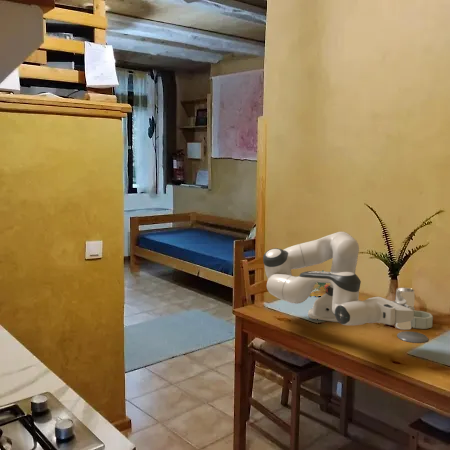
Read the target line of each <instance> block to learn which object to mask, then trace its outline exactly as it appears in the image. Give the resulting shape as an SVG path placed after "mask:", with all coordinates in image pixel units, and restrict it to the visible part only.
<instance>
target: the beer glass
mask: <svg viewBox="0 0 450 450" xmlns="http://www.w3.org/2000/svg"><path fill="white" fill-rule="evenodd" d="M395 289H396V290H395V296H394V297H395V299H394V301H395V303H397V304H399V305H401V306H404V307H406V308H409V307H414V306H415V289H414V288H410V287H405V286H404V287H397V288H395ZM414 308H415V307H414ZM394 327H395V328H396V329H398V330H403V331H407V330H408V331H409V330H411V329H412V328H413V327H411V321H407V322H402V323H395V324H394Z"/></svg>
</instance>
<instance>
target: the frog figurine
mask: <svg viewBox="0 0 450 450" xmlns="http://www.w3.org/2000/svg"><path fill="white" fill-rule="evenodd" d="M321 271H322V272H325V271H324V269H323V270H321ZM315 285H318V286H317V287H316V289H315V290H314V291H313V290H312V292H311V294H310V296H309V297H312V296H316V297H315V298H317V297H318V296H322V295H324V294H325V293H326V289H325V285H327V283H321V282H316V284H315ZM322 287H323V289H324V290H323V289H321V290H319V289H320V288H322ZM317 289H318V290H317ZM318 298H319V297H318Z"/></svg>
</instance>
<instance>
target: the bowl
mask: <svg viewBox="0 0 450 450" xmlns="http://www.w3.org/2000/svg"><path fill="white" fill-rule="evenodd" d="M433 320H434V316H433V314H432V313H430V312H427V311H424V310H414V317H413V320H411V327H412V328H413V329H420V330H421V329H422V330H427V329H429V328H433Z"/></svg>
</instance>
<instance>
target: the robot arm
mask: <svg viewBox="0 0 450 450" xmlns="http://www.w3.org/2000/svg"><path fill="white" fill-rule="evenodd" d="M359 252H360V246H359V243H358V241H357V239H356V238H354V236H352V235H351V234H350V233H348V232H346V231H337V232H334V233H331V234H328V235H325V236H323V237H320V238H318V239H313V240H310V241H306V242H302V243H297V244H294V245H292V246H288V247H286V248H284V249H282V248H276V247H275V248H271V249H270V248H269V249H268V250H266V252H265V253H264V254H263V257H262V262H263V265H264V270H265V272H264V273H265V275H266V277H267V282H266V289H267V292H269V294H270V295H272V296H273V297H275V298H277V299H279V300H282V301H285V302H287V303H291V304H295V305H297V304H298V305H299V304H301V303H304V302H306V300H307V299H308V298H309V297H311V296H310V294H311V293H312V292H313V290H314V287H315V285H317V284H316V283H317V282H321V283H326V285H324V288H325V289H326V293H325V294H324V295H322V296H321V297H318V298H317V299H315V301H314V302H313V306H312V308H310V309H309V310H307V311H308V312H307V317H308V318H310V319H311V320H317V319H318V320H319V321H325V322H326V321H327V322H334V323H339V324H341V325H343V326H360V325H365V324H367V323H368V324H374V323H377V324H384V325H388V326H393V325H394V326H395V323H402V322H407V321H411V320H413V317H414V311H415V310H416V309H415V307H409V308H406V307H404V306H401V305H399V304H397V303H395V300H389V299H387V298H385V297H381V296H373V297H369V298H366V299H365V300H359V296H360V294H359V293H360V288H361V285H362V281H361V278H359V276H358V275H357V274H356V270H357V263H358V260H359V259H358V257H359ZM329 260H332V262H331V268H330V271H324V272H322V270H321V271H319V270H317V271H315V270H313V271H312V270H311V271H310V270H309V271H308V270H307V271H304V272H301V273H300V274H299V276H297V275H296V276H294V275H292V270H298V269H303V268H309V267H312V266H316V265H320V264H323V263H324V262H327V261H329ZM318 320H317V321H318Z"/></svg>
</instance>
